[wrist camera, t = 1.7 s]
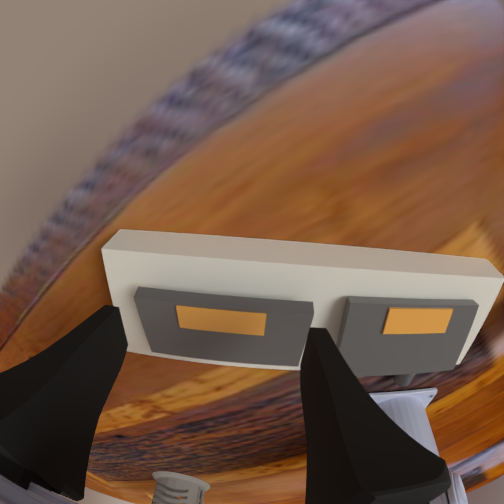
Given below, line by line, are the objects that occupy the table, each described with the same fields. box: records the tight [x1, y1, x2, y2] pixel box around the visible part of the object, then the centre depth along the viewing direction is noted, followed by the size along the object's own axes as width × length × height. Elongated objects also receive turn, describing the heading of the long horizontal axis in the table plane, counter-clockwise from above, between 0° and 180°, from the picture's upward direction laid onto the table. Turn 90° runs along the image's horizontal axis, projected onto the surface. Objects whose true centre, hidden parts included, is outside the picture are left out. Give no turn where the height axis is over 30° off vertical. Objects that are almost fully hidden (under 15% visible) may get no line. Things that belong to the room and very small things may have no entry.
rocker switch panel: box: [101, 229, 504, 387], centre depth 19 cm, size 12×25×3 cm, turn 87°
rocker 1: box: [133, 286, 314, 367], centre depth 17 cm, size 5×9×1 cm, turn 86°
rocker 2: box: [336, 296, 479, 376], centre depth 16 cm, size 5×9×1 cm, turn 87°
